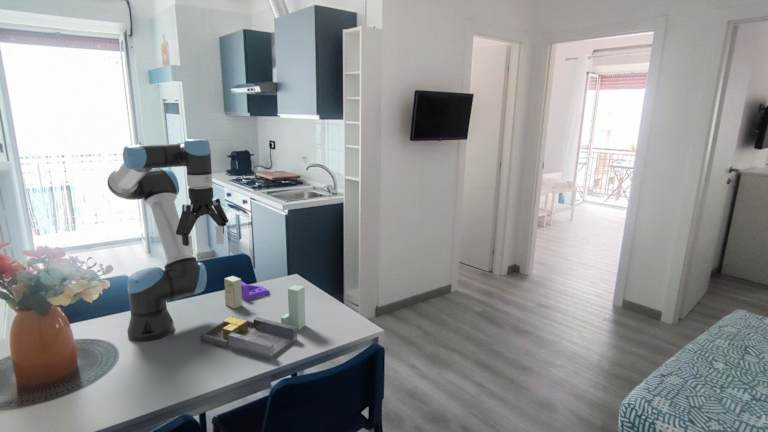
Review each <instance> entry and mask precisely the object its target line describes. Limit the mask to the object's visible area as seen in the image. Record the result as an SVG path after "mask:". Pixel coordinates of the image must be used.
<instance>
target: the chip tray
mask: <svg viewBox="0 0 768 432" xmlns="http://www.w3.org/2000/svg"><path fill="white" fill-rule="evenodd" d="M231 317H235V318H239V319H243V320H246V321H248V331H250V330H252V329H253V328H254V320H249V319H245V318H240V317H237V316H233V315H232V316H231ZM223 328H224V327H223V321H222V322H220V323H218V324H217V325H214V326H213V327H211V328H209V329H208V330H206V331H204V332H202V333H200V341H201V342H205V343H208V344H211V345H214V346H219V347H221V348H225V349H229V344H228V340H227V339H224V338H223ZM248 331H247V332H248ZM247 332H245V333H247ZM245 333H244V334H245ZM244 334H242V335H244Z"/></svg>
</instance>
